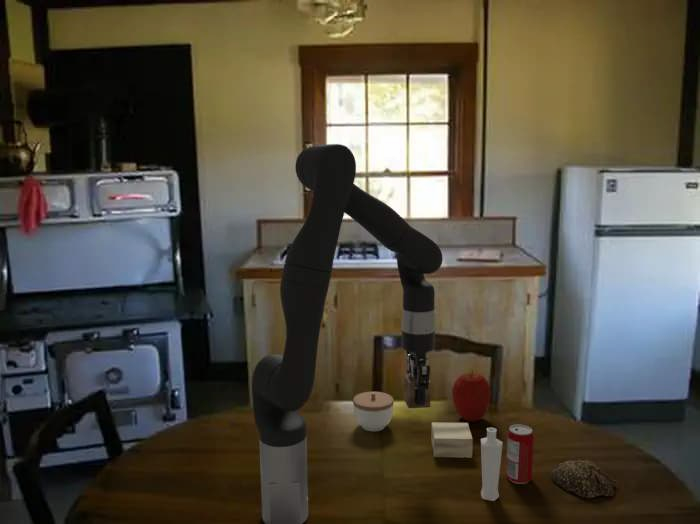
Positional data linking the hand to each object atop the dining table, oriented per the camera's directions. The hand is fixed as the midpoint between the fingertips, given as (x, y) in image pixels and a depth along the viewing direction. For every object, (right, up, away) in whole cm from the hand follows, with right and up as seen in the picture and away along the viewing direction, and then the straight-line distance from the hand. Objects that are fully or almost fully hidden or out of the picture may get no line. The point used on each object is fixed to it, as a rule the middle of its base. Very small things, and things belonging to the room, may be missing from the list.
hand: (417, 399), depth 146 cm
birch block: (+9, -15, +10) cm, 20 cm away
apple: (+17, -11, +27) cm, 34 cm away
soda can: (+22, -17, -4) cm, 28 cm away
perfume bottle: (+14, -18, -11) cm, 26 cm away
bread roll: (+36, -18, -7) cm, 41 cm away
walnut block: (0, -1, 0) cm, 1 cm away
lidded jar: (-9, -12, +23) cm, 27 cm away
